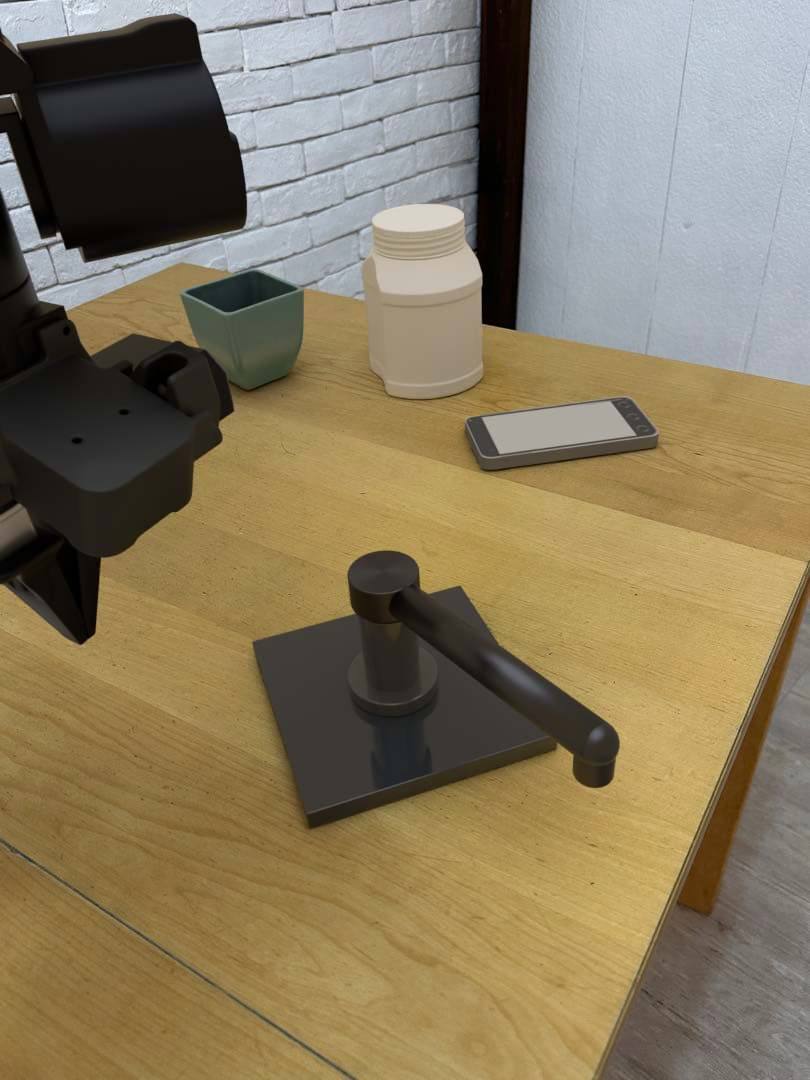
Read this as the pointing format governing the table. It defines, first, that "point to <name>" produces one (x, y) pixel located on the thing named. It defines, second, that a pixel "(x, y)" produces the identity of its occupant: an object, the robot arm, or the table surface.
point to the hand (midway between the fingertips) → (81, 637)
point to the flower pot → (248, 324)
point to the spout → (483, 661)
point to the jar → (423, 302)
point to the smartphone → (559, 432)
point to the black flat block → (384, 713)
